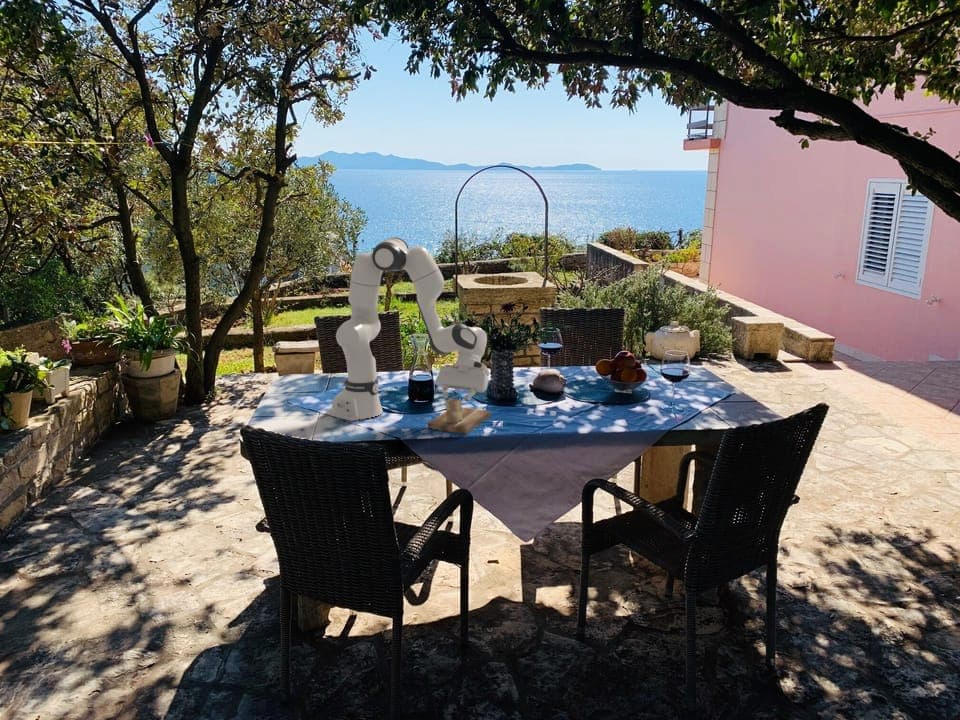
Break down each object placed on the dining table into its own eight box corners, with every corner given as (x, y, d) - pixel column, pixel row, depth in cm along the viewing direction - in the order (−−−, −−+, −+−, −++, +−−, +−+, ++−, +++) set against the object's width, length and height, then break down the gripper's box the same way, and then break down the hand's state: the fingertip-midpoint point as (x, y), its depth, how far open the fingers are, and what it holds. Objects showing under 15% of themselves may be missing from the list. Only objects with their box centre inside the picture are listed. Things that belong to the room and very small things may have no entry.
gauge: (446, 421, 255) (445, 401, 253) (451, 418, 258) (450, 398, 256) (460, 423, 252) (459, 402, 250) (464, 420, 256) (463, 399, 253)
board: (427, 428, 254) (427, 423, 253) (453, 411, 272) (453, 406, 272) (466, 434, 247) (466, 428, 247) (490, 416, 266) (490, 410, 265)
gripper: (439, 360, 263) (428, 391, 257) (488, 365, 254) (477, 397, 248) (445, 368, 268) (434, 399, 262) (493, 373, 259) (482, 405, 253)
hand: (455, 398), depth 255 cm, fingers open, 8 cm apart
